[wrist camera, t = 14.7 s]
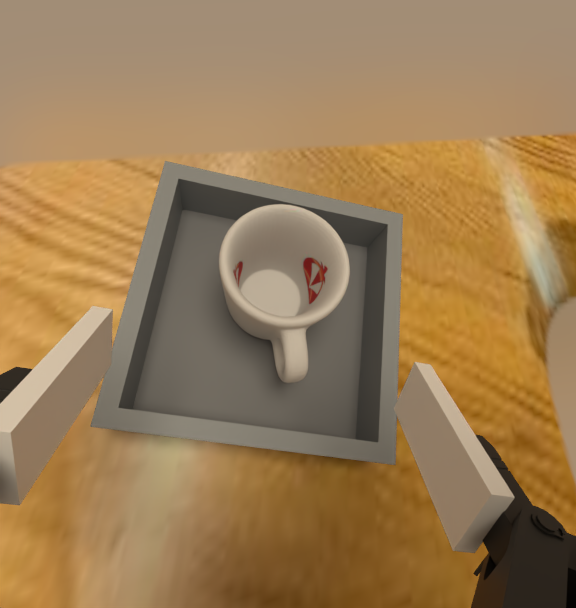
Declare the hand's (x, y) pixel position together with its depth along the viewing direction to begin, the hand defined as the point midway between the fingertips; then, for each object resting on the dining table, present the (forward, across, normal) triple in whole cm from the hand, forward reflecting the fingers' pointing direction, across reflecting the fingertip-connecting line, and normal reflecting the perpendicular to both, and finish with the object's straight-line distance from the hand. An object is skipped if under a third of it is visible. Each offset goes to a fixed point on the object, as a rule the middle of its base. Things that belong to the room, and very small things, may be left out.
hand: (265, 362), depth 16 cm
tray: (+12, +1, -5) cm, 13 cm away
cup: (+12, +1, -5) cm, 13 cm away
